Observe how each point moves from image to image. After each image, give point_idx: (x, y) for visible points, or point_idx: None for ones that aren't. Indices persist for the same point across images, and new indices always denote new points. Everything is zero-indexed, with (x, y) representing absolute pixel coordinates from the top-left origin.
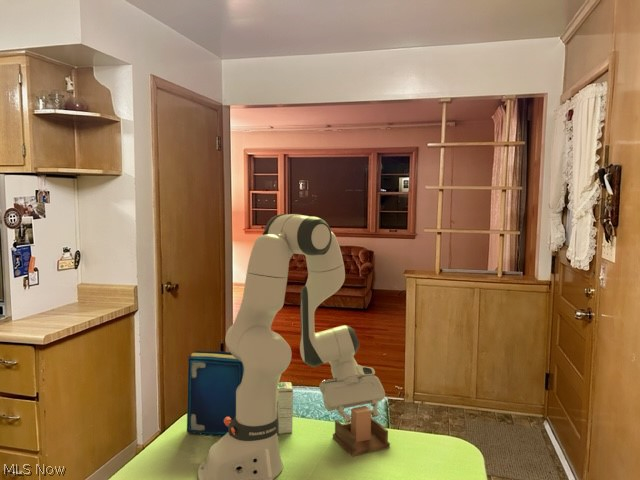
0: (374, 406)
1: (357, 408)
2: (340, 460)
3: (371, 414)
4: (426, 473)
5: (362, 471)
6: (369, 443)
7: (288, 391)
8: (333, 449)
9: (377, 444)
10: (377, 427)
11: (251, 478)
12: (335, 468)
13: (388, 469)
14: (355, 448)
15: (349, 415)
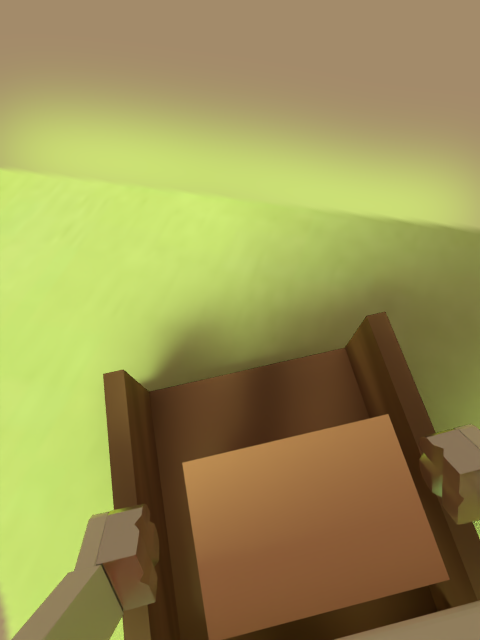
0: (70, 635)
1: (352, 562)
2: (427, 323)
3: (154, 569)
4: (80, 184)
5: (334, 229)
6: (241, 418)
7: None
8: None
9: (197, 398)
10: (143, 495)
11: None
12: (456, 266)
13: (217, 226)
14: (350, 342)
15: (455, 462)
